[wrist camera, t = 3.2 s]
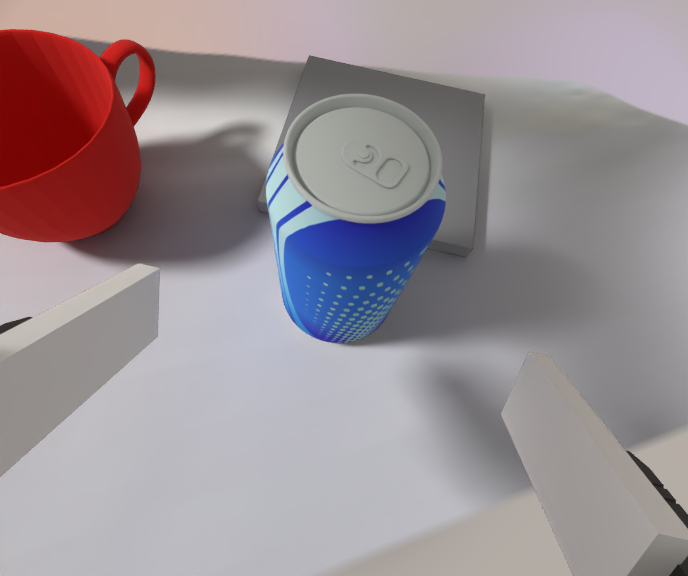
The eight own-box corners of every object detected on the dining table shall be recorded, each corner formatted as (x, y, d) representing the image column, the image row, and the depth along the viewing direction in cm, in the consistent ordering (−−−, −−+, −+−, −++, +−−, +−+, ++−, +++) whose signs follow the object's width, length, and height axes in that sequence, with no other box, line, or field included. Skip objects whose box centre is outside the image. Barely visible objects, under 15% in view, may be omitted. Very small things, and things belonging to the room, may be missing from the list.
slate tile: (259, 211, 33) (257, 200, 31) (309, 69, 40) (309, 55, 39) (465, 257, 33) (472, 248, 31) (478, 106, 40) (484, 94, 39)
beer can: (298, 361, 28) (289, 264, 13) (272, 261, 31) (240, 92, 16) (404, 330, 30) (498, 214, 15) (369, 238, 33) (420, 66, 18)
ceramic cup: (232, 163, 35) (205, 59, 25) (79, 306, 28) (-31, 237, 19) (125, 95, 36) (64, -25, 27) (-40, 215, 30) (-191, 113, 21)
